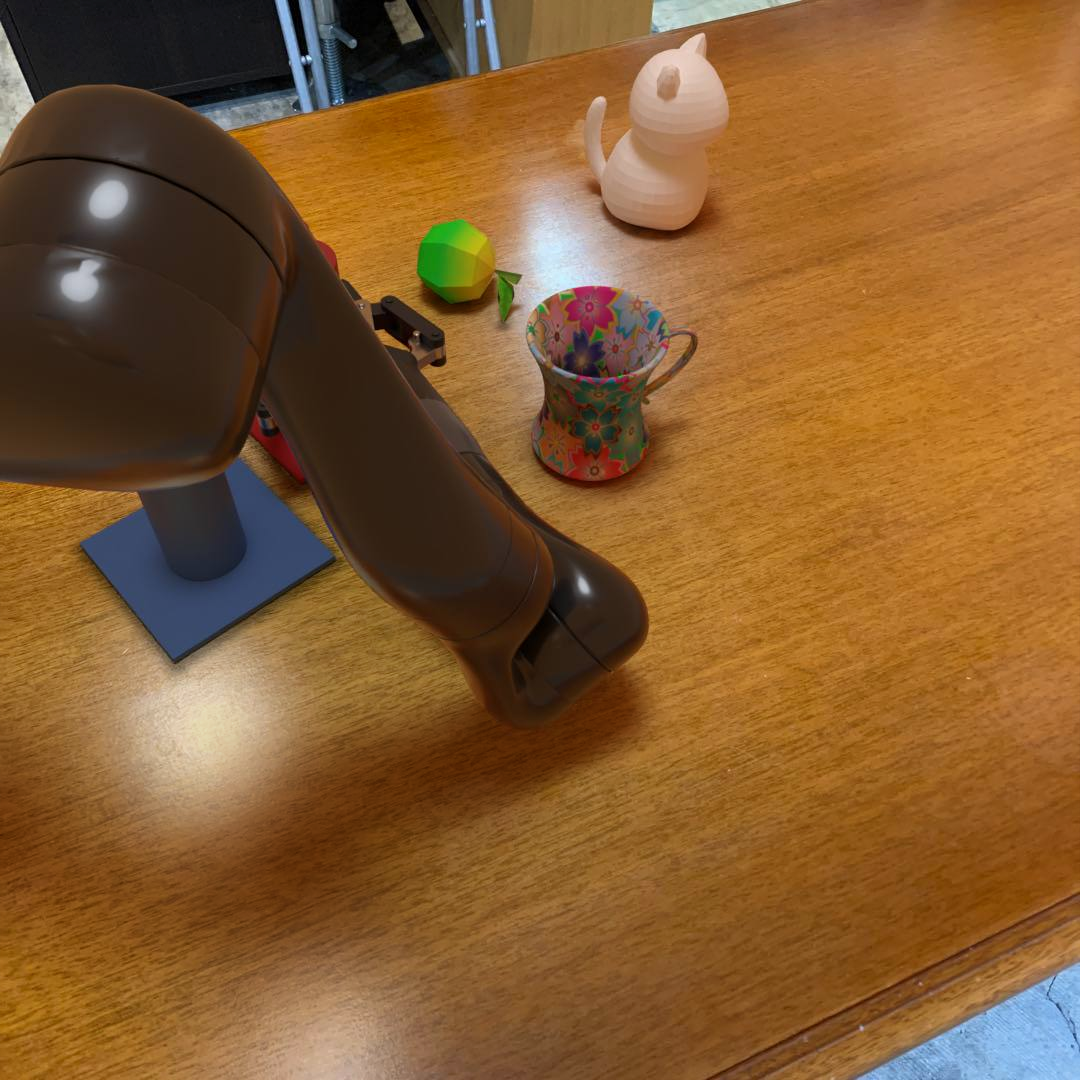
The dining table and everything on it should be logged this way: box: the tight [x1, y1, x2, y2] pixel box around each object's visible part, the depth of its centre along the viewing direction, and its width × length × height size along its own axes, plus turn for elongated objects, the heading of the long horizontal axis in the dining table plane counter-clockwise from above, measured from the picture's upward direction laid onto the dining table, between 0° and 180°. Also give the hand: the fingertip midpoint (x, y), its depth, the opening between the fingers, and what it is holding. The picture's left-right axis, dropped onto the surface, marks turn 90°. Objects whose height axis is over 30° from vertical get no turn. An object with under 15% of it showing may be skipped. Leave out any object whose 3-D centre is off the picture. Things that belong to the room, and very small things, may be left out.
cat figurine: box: [583, 32, 730, 231], centre depth 90 cm, size 9×12×15 cm
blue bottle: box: [136, 471, 247, 581], centre depth 65 cm, size 5×5×14 cm
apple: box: [416, 218, 523, 324], centre depth 86 cm, size 7×6×9 cm
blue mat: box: [79, 456, 337, 664], centre depth 71 cm, size 12×12×1 cm
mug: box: [525, 285, 699, 482], centre depth 74 cm, size 12×9×11 cm
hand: (292, 300), depth 76 cm, fingers closed on red bottle, 5 cm apart
